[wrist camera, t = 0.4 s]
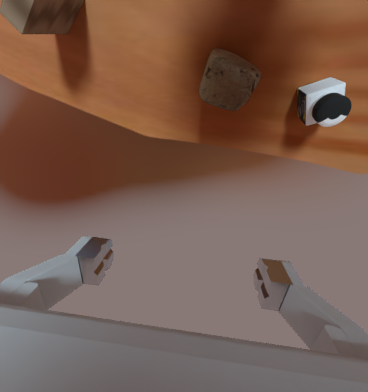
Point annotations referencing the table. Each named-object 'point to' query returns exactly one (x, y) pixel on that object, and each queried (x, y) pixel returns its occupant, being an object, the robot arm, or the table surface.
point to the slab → (41, 15)
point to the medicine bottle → (323, 102)
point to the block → (228, 80)
